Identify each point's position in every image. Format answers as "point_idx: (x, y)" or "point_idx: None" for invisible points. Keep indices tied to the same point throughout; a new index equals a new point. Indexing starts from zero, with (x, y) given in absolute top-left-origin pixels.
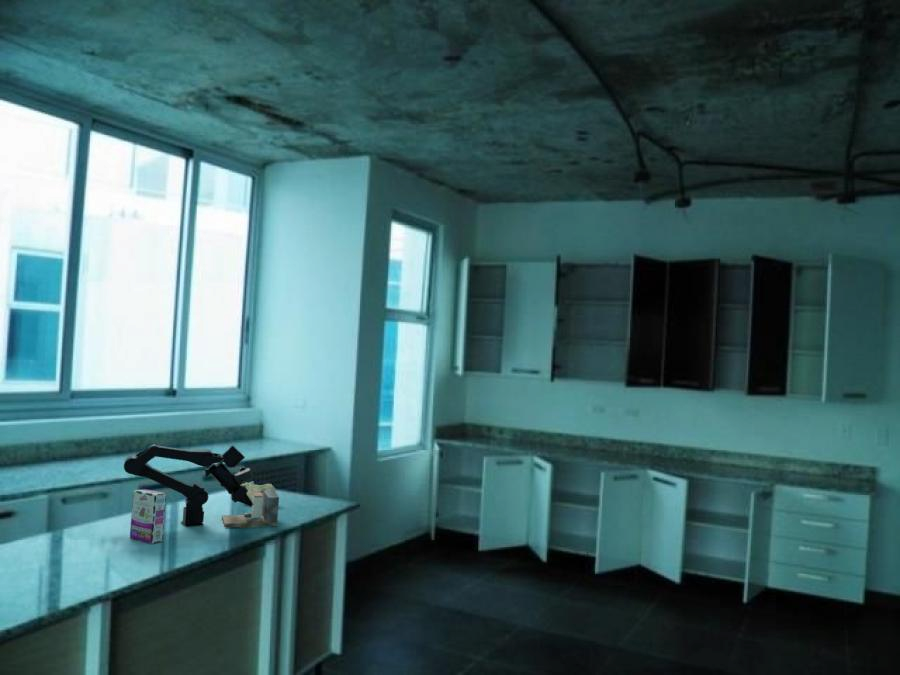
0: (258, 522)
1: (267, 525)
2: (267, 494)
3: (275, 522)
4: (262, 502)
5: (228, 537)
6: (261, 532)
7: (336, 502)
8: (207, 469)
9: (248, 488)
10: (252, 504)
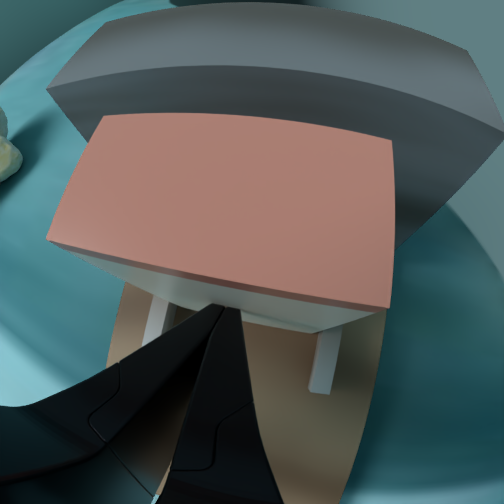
0: None
1: None
2: (302, 59)
3: None
4: (2, 164)
5: (490, 486)
6: (482, 323)
7: (109, 11)
8: None
9: None
10: (239, 318)
